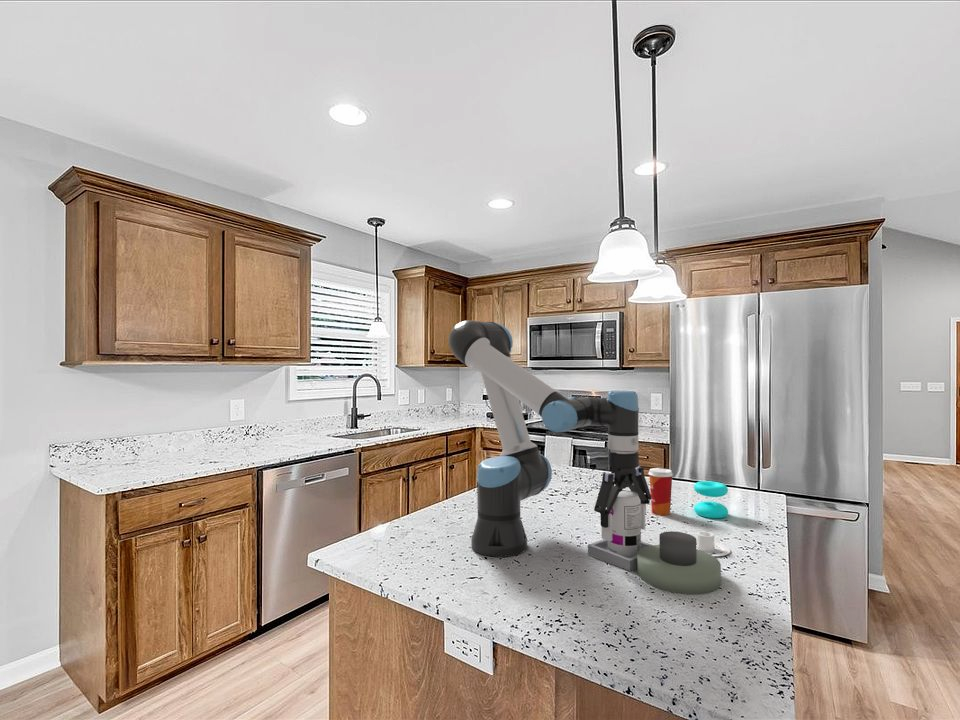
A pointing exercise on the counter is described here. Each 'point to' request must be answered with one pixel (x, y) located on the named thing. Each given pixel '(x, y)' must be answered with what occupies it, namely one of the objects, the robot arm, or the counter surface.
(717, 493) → the donuts
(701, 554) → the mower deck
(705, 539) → the candle holder
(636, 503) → the supplement can
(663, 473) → the paper cup
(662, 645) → the counter surface
